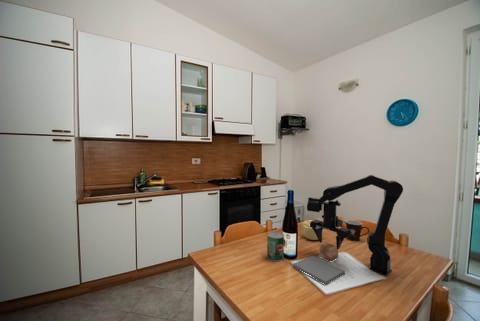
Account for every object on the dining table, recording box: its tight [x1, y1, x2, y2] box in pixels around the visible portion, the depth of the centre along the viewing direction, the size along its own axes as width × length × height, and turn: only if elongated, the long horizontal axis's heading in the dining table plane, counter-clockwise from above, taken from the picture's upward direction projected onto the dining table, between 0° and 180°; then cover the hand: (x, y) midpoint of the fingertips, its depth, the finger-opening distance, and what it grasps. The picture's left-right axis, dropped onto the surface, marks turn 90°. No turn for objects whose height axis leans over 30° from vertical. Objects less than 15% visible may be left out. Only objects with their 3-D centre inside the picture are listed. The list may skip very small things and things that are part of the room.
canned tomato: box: [266, 231, 285, 262], centre depth 103 cm, size 8×8×11 cm
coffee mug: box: [345, 219, 370, 242], centre depth 125 cm, size 12×9×10 cm
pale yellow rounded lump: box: [301, 219, 325, 241], centre depth 127 cm, size 11×12×11 cm
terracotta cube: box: [318, 242, 339, 262], centre depth 102 cm, size 6×6×6 cm
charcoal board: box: [292, 255, 346, 286], centre depth 91 cm, size 16×14×2 cm
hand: (329, 245), depth 102 cm, fingers open, 9 cm apart
